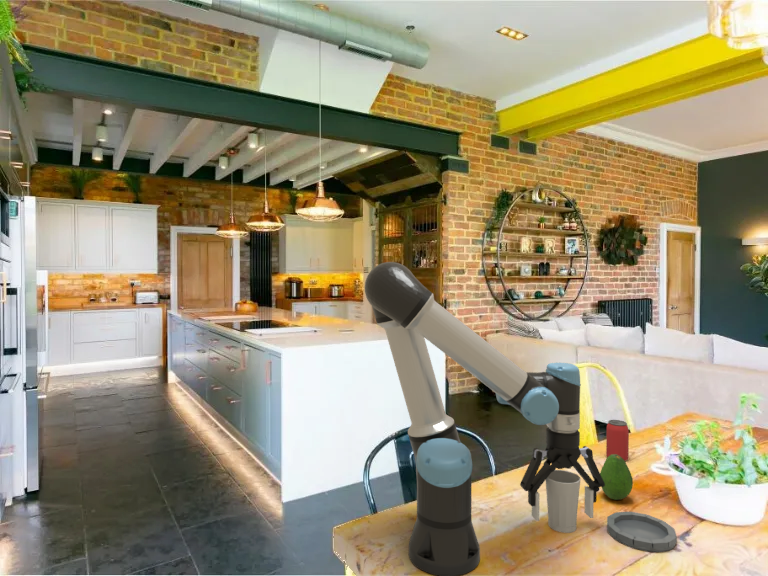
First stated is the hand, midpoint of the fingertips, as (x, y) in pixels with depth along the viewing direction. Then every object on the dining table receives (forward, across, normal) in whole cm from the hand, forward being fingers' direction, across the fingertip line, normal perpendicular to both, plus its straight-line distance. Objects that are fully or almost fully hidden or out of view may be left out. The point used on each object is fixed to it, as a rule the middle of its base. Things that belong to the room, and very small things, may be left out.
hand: (562, 516), depth 117 cm
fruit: (+2, +21, +12) cm, 24 cm away
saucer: (+2, +16, -6) cm, 17 cm away
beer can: (+2, +38, +39) cm, 55 cm away
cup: (+2, 0, 0) cm, 2 cm away
